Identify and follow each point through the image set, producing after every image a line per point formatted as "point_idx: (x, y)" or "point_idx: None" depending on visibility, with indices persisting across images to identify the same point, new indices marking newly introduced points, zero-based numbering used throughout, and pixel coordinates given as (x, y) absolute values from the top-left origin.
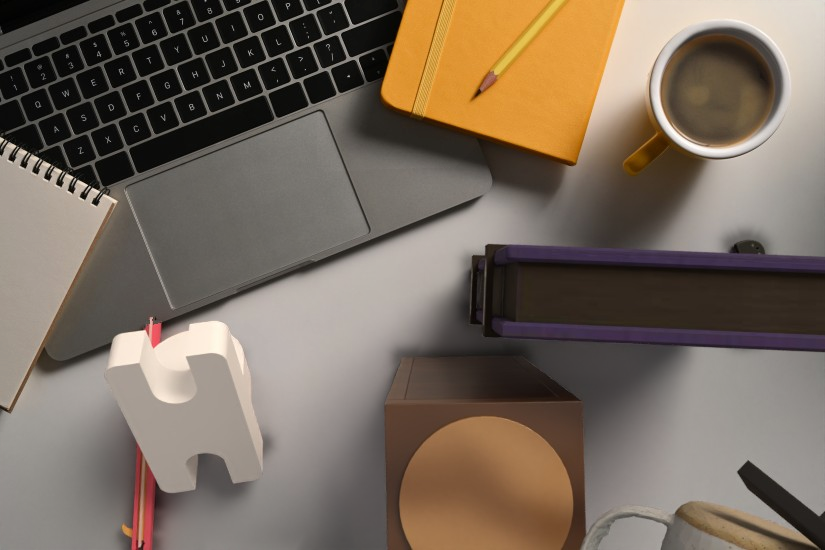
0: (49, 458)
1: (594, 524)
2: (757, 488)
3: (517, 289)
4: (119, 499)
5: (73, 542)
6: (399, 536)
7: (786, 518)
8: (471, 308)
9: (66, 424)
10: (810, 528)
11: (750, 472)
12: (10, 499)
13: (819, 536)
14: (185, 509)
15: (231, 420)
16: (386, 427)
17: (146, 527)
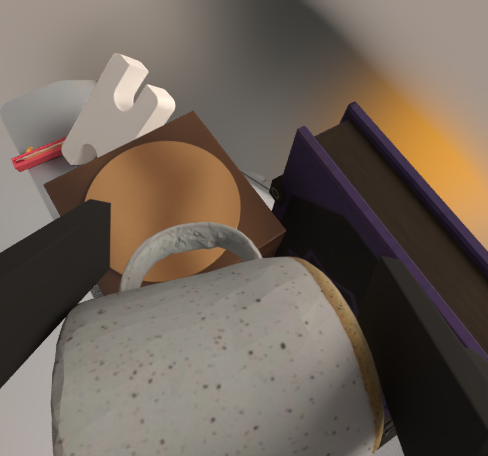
0: (52, 103)
1: (209, 222)
2: (390, 271)
3: (333, 127)
4: (46, 142)
5: (9, 134)
6: (102, 165)
7: (381, 340)
8: None
9: (75, 102)
10: (425, 323)
11: (394, 264)
12: (21, 97)
13: (432, 335)
14: (56, 175)
15: (121, 144)
16: (178, 118)
17: (35, 157)
